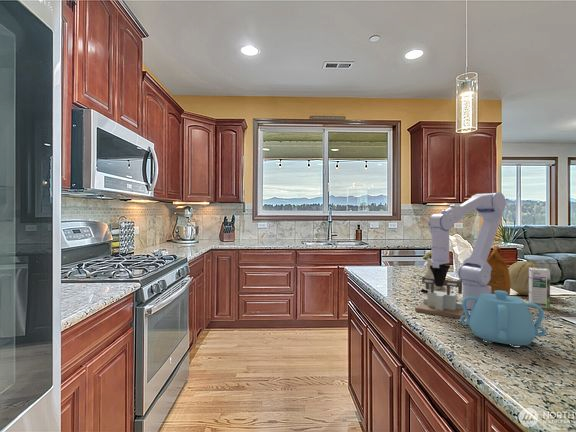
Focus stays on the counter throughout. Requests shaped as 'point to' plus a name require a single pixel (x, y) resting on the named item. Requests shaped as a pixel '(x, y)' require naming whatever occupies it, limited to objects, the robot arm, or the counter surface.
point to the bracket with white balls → (446, 283)
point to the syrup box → (539, 287)
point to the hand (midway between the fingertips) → (439, 285)
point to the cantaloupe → (521, 276)
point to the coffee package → (498, 272)
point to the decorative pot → (502, 319)
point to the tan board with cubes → (441, 305)
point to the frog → (431, 275)
